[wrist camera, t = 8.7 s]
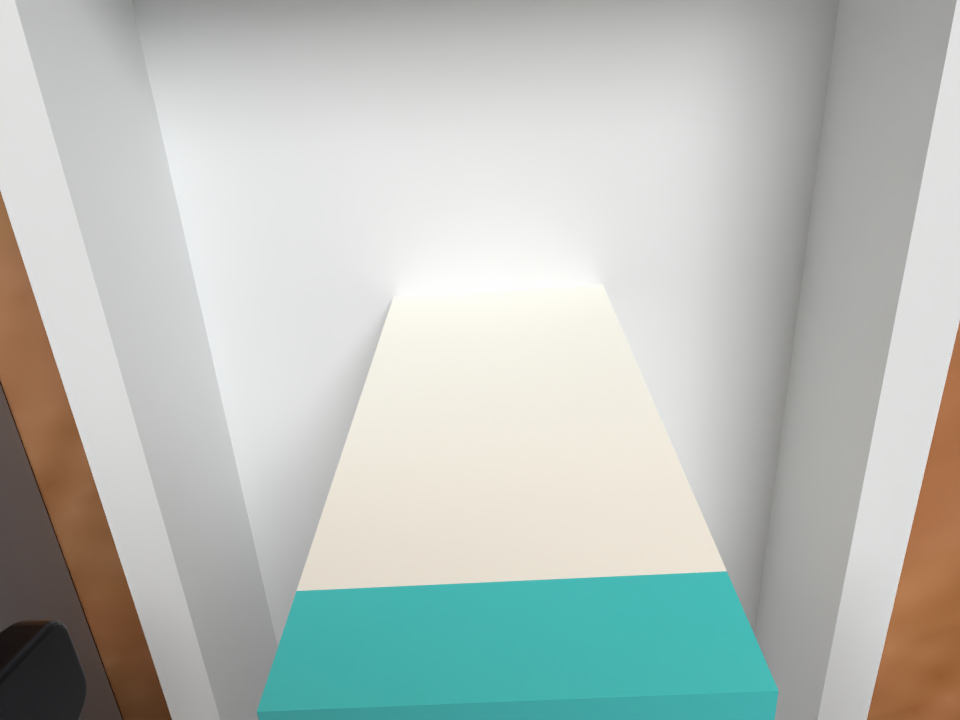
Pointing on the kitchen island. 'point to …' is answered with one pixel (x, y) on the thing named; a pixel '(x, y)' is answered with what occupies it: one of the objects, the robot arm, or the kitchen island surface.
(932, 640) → the kitchen island surface
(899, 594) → the kitchen island surface
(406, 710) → the block
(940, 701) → the kitchen island surface
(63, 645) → the robot arm
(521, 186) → the tray
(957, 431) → the kitchen island surface
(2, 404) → the fuse holder
